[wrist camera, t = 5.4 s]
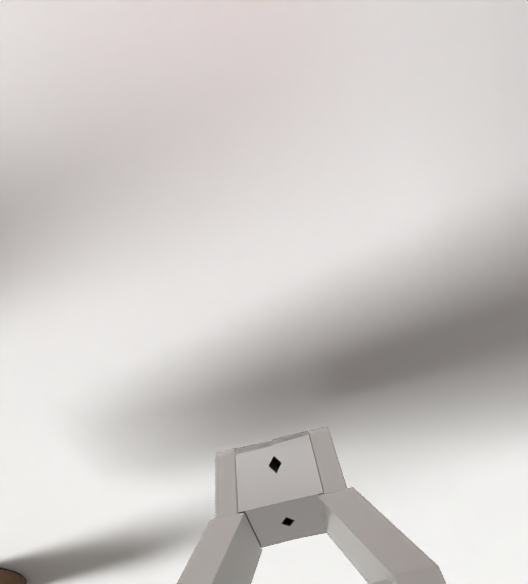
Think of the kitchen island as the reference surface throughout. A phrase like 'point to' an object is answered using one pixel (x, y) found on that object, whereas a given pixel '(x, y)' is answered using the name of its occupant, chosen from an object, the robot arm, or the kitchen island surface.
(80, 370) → the kitchen island surface
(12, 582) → the post outer
